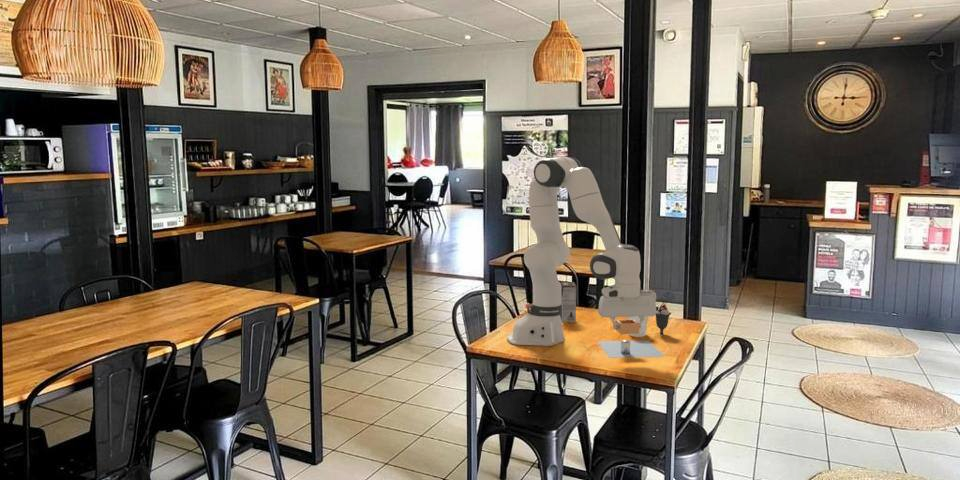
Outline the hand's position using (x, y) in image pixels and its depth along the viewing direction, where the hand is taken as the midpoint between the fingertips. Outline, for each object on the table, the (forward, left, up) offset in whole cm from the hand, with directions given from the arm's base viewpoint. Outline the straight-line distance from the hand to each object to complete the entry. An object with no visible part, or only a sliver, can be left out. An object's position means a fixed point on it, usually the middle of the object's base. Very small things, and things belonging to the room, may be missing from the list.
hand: (627, 328), depth 236 cm
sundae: (+21, +24, -11) cm, 34 cm away
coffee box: (-11, +55, -11) cm, 57 cm away
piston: (0, 0, -9) cm, 9 cm away
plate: (+3, +5, -11) cm, 12 cm away
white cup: (+11, +24, -11) cm, 29 cm away
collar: (0, 0, -1) cm, 1 cm away
